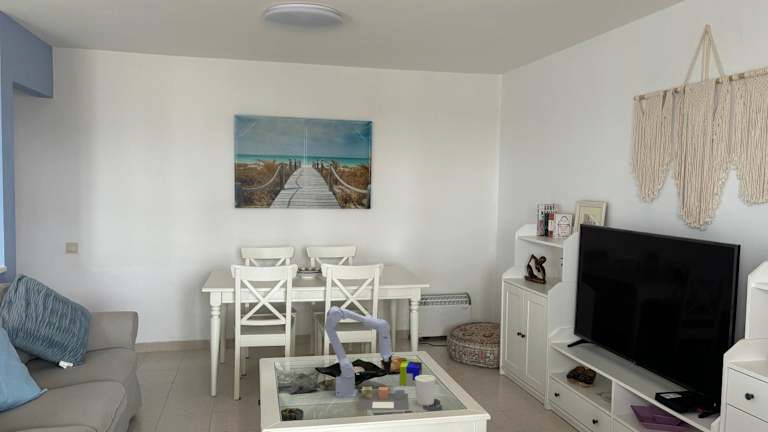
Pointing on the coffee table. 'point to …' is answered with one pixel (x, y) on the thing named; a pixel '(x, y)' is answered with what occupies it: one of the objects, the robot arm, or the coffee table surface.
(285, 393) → the coffee table surface
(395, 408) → the mat
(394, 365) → the nautilus
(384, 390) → the terracotta block
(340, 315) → the robot arm
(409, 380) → the puzzle toy
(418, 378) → the candle holder
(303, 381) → the mineral rock
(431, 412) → the coffee table surface
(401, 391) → the slate block
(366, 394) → the beech block
